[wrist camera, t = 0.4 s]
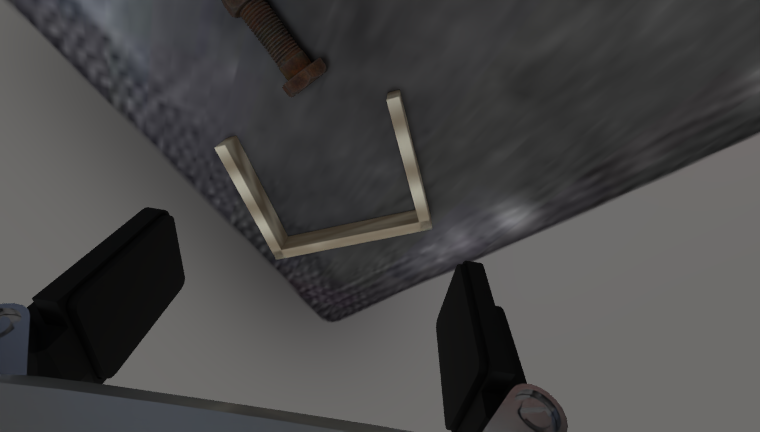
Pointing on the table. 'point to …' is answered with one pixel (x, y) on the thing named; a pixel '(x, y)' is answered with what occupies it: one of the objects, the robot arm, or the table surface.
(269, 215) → the bay
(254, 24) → the bolt
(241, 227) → the table surface
